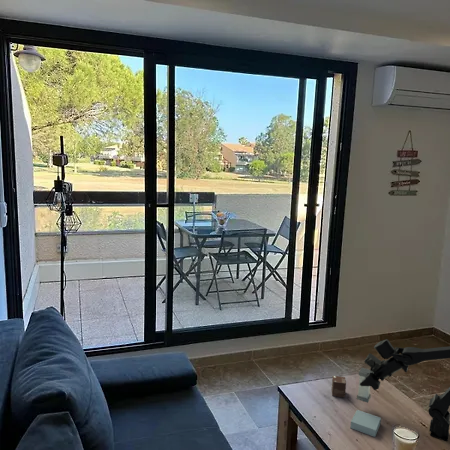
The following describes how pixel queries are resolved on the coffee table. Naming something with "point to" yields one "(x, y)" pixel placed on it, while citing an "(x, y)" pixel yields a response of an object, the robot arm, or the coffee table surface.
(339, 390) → the box
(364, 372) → the housing
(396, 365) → the robot arm
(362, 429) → the stand
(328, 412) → the coffee table surface
